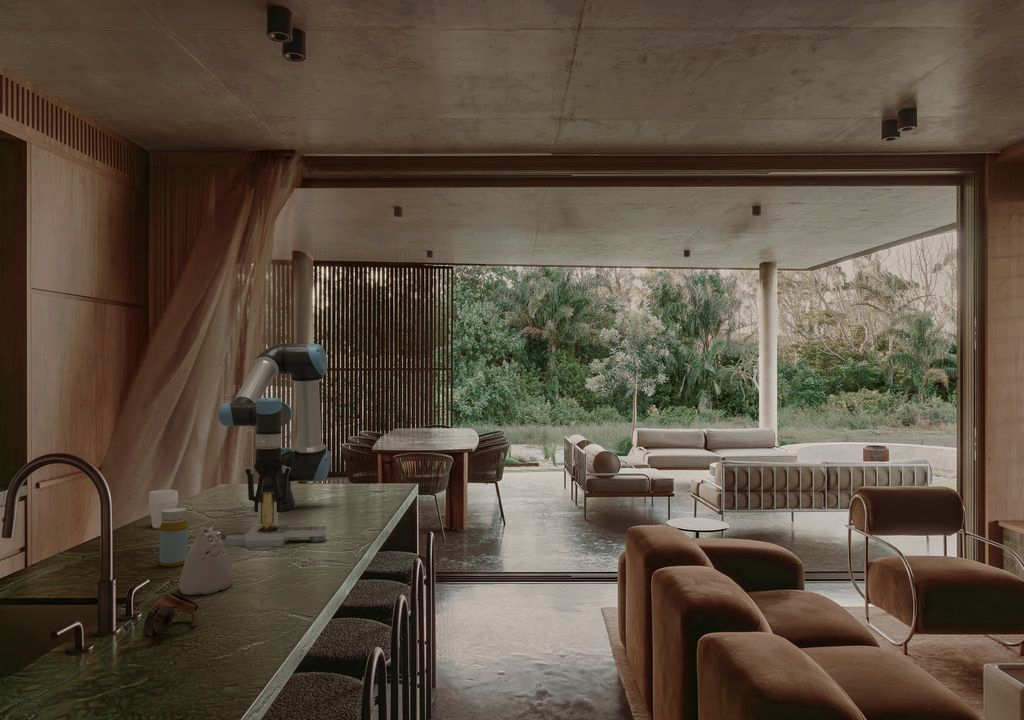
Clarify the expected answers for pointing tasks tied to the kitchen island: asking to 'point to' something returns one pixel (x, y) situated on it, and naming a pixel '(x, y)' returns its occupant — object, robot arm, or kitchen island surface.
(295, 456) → the robot arm
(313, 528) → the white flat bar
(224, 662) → the kitchen island surface
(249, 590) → the kitchen island surface
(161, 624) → the brown curved piece
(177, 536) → the bottle
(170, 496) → the cup
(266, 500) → the pin
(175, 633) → the kitchen island surface
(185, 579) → the sculpture
